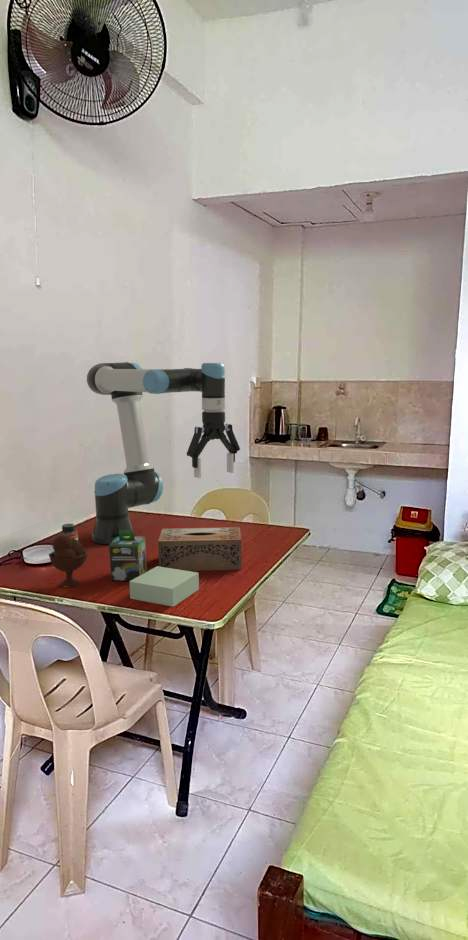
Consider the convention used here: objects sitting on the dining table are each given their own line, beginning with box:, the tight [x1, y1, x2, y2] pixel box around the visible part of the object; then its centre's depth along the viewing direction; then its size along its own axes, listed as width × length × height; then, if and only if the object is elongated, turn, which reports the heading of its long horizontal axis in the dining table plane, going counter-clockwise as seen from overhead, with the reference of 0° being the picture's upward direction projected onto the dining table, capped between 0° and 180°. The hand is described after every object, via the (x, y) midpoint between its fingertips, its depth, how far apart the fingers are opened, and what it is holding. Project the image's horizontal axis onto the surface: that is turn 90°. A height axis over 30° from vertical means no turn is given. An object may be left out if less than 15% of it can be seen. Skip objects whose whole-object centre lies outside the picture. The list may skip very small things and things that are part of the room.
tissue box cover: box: [157, 526, 242, 572], centre depth 204 cm, size 26×14×10 cm, turn 91°
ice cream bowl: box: [48, 535, 88, 587], centre depth 186 cm, size 11×11×15 cm
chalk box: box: [108, 530, 148, 582], centre depth 192 cm, size 9×9×15 cm
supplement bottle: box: [59, 523, 79, 541], centre depth 211 cm, size 6×6×11 cm
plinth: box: [128, 565, 200, 607], centre depth 178 cm, size 14×14×5 cm
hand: (214, 474), depth 210 cm, fingers open, 13 cm apart
